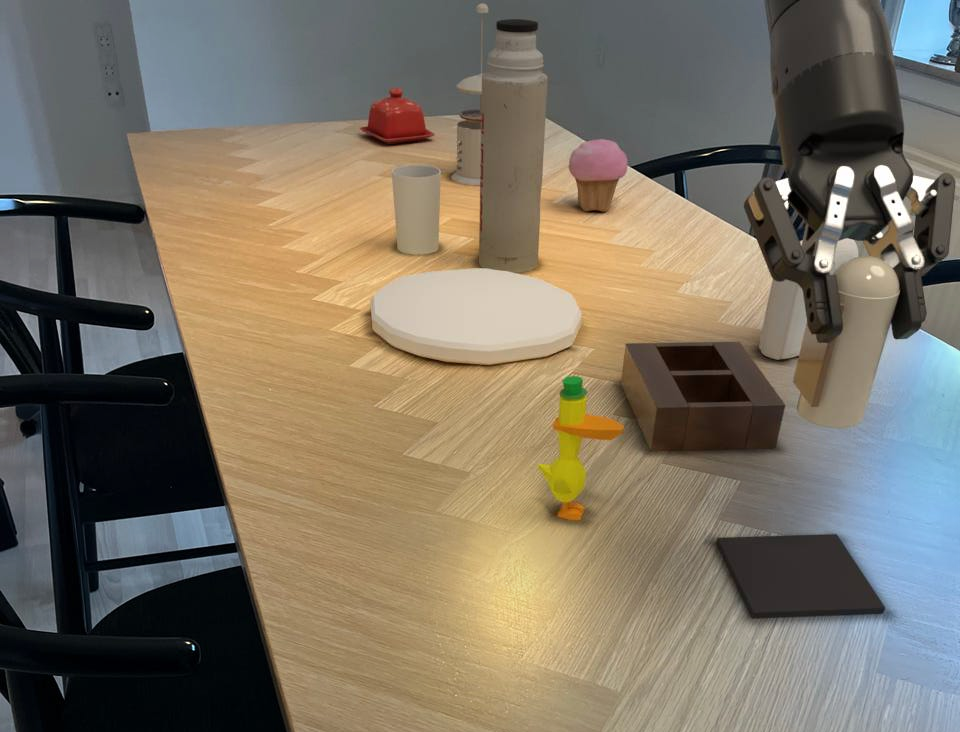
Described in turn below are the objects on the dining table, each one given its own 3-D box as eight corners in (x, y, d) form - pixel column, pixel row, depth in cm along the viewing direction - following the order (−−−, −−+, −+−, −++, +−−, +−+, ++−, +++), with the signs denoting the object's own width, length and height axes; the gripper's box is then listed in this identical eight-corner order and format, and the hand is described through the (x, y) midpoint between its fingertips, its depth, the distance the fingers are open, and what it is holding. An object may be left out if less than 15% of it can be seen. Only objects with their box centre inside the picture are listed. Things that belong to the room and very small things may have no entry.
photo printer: (812, 333, 115) (838, 223, 107) (841, 345, 112) (870, 233, 104) (751, 352, 110) (773, 238, 102) (780, 365, 107) (806, 249, 100)
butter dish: (438, 141, 186) (437, 90, 181) (384, 148, 181) (382, 96, 176) (409, 129, 194) (408, 80, 188) (357, 135, 189) (354, 85, 183)
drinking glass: (435, 239, 140) (434, 163, 134) (446, 253, 135) (446, 176, 129) (390, 242, 138) (386, 165, 132) (399, 257, 133) (396, 178, 127)
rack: (732, 382, 104) (739, 341, 101) (775, 449, 92) (785, 404, 89) (620, 384, 103) (625, 343, 100) (650, 452, 91) (656, 407, 89)
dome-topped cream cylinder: (848, 399, 71) (891, 246, 64) (872, 428, 67) (920, 269, 60) (786, 400, 70) (823, 246, 63) (807, 429, 67) (848, 270, 60)
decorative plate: (618, 316, 107) (397, 339, 101) (614, 352, 109) (398, 377, 103) (539, 246, 125) (348, 262, 119) (537, 279, 128) (350, 296, 122)
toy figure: (615, 509, 83) (631, 376, 76) (609, 531, 81) (625, 395, 73) (537, 498, 84) (545, 366, 77) (529, 520, 82) (536, 385, 74)
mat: (835, 539, 80) (836, 533, 80) (883, 614, 72) (885, 607, 72) (715, 543, 79) (717, 537, 79) (751, 618, 72) (753, 612, 71)
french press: (441, 181, 164) (440, 4, 148) (468, 165, 172) (470, -3, 157) (495, 188, 161) (500, 9, 146) (520, 172, 170) (527, 1, 154)
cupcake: (619, 202, 156) (627, 133, 150) (625, 218, 149) (632, 147, 143) (564, 201, 156) (568, 132, 150) (566, 217, 149) (571, 145, 143)
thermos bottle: (471, 269, 130) (473, 22, 112) (488, 251, 136) (494, 14, 118) (528, 276, 128) (540, 26, 111) (544, 258, 134) (558, 18, 116)
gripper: (753, 48, 60) (790, 316, 58) (968, 46, 62) (1010, 306, 60) (709, 125, 67) (741, 364, 65) (902, 121, 69) (938, 354, 67)
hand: (869, 335), depth 63 cm, fingers closed on dome-topped cream cylinder, 4 cm apart
